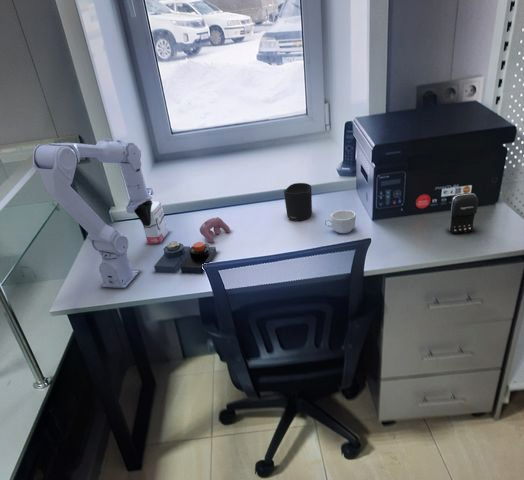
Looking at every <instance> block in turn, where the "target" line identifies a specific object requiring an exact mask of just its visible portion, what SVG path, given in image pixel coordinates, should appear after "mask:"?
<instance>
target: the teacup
mask: <svg viewBox="0 0 524 480" xmlns="http://www.w3.org/2000/svg"><path fill="white" fill-rule="evenodd" d="M356 216H357V213H356V212H355V211H354V210H350V209H339V210H336V211H333V212H332V213H331V214H330V218H326V219H325V220H324V226H326V227H327V228H330V229H331V228H332V229H333V230H334V231H335V232H336V233H339V234H348V233H350V232H352V231H353V229H354V227H355V225H356ZM327 221H328V222H330V224H327Z"/></svg>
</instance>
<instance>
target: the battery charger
mask: <svg viewBox="0 0 524 480" xmlns="http://www.w3.org/2000/svg"><path fill="white" fill-rule="evenodd" d="M478 206H479V198H478V197H477V195H476V193H472V192H469V193H461V194H455V195H454V196H453V198H452V201H451V206H450V216H449V218H450V219H449V227H448V230H449V232H450V233H451V234H464V233H466V234H467V233H472V232H473V230H474V219H475V215H476V214H477V213H478Z"/></svg>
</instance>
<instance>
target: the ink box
mask: <svg viewBox="0 0 524 480" xmlns="http://www.w3.org/2000/svg"><path fill="white" fill-rule="evenodd" d="M142 227H143V230H144V235H145V237H146V243H147V244H149V245H150V244H161V243H162V242H163V240H164V239H165V237H166V236H167V235H168V234H169V230H168V226H167V222H166V218H165V214H164V209H163V205H162V201H155V200H154V201H153V200H152V206H151V224H150V225H149V226H144V225H143V224H142Z"/></svg>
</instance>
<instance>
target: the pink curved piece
mask: <svg viewBox="0 0 524 480" xmlns="http://www.w3.org/2000/svg"><path fill="white" fill-rule="evenodd" d="M221 229H222V230H223V231H224V232H226V233H230V232H231V228H230V227H229V225H228V224H227V223H226V222H225V221H224V220H223V219H222V218H220V217H218V216H216V217H212V218H209V219H207V220H206V221H204V222H203V223H202V224H201V226H199V233H200V234H201V236H203V238H204V239H205V240H206V241H207V242H209V243H214V240H215V239H214V237H215V235H219V234H220V233H221Z"/></svg>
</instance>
